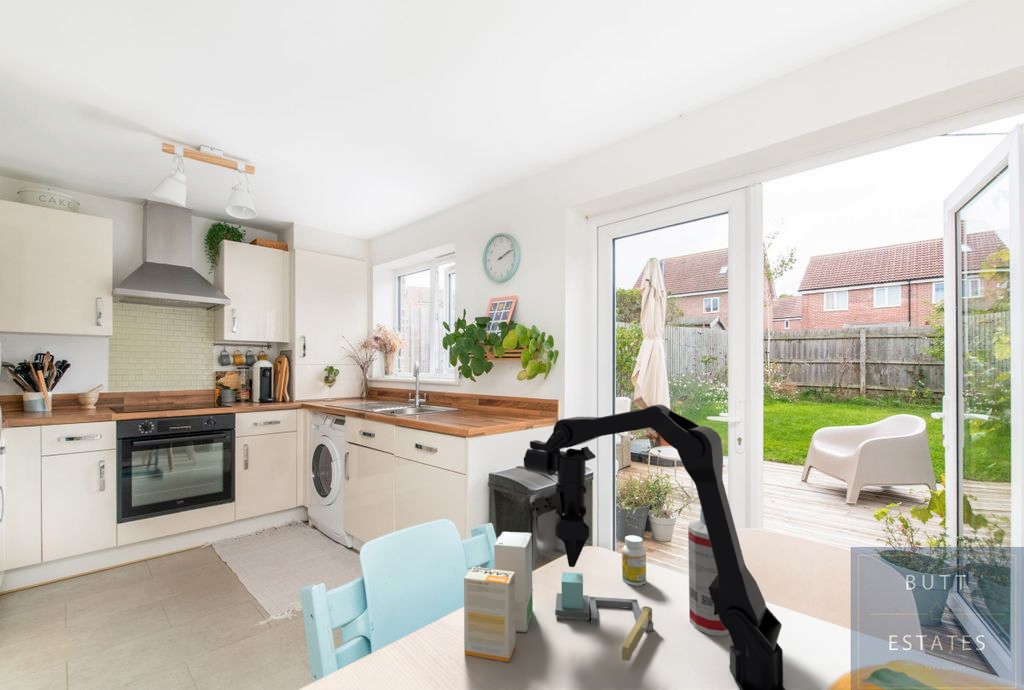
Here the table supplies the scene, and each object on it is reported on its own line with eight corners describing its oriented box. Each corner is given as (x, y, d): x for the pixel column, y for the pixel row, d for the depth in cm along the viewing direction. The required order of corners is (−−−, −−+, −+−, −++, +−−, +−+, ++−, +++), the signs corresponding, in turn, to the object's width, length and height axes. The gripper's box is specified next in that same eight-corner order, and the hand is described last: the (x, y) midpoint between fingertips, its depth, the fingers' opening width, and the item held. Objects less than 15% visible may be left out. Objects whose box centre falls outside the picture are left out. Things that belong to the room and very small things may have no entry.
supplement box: (516, 646, 79) (516, 570, 80) (508, 663, 75) (509, 583, 75) (472, 638, 81) (473, 565, 82) (462, 655, 77) (463, 577, 77)
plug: (588, 600, 94) (588, 571, 94) (589, 618, 87) (589, 586, 87) (556, 598, 95) (556, 568, 95) (555, 615, 88) (555, 584, 88)
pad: (586, 603, 93) (586, 600, 93) (588, 619, 87) (588, 616, 88) (557, 601, 94) (557, 599, 94) (557, 617, 88) (557, 614, 88)
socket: (645, 605, 93) (645, 600, 93) (654, 632, 84) (654, 625, 84) (589, 602, 94) (589, 596, 94) (591, 628, 85) (591, 621, 85)
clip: (643, 617, 86) (643, 605, 86) (653, 620, 85) (653, 608, 85) (619, 658, 74) (619, 645, 74) (630, 662, 73) (630, 648, 73)
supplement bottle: (645, 588, 100) (645, 544, 101) (620, 584, 102) (620, 541, 102) (646, 577, 105) (646, 535, 106) (623, 573, 107) (623, 532, 107)
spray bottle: (712, 639, 81) (710, 500, 82) (681, 618, 88) (679, 489, 89) (742, 629, 85) (739, 495, 86) (709, 609, 91) (707, 485, 93)
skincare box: (526, 634, 83) (526, 548, 84) (491, 629, 84) (492, 545, 85) (533, 609, 91) (533, 532, 92) (501, 606, 92) (502, 529, 93)
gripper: (535, 467, 102) (534, 537, 102) (528, 490, 84) (528, 575, 83) (584, 469, 101) (584, 539, 100) (589, 492, 82) (589, 579, 82)
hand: (571, 556), depth 91 cm, fingers open, 9 cm apart
